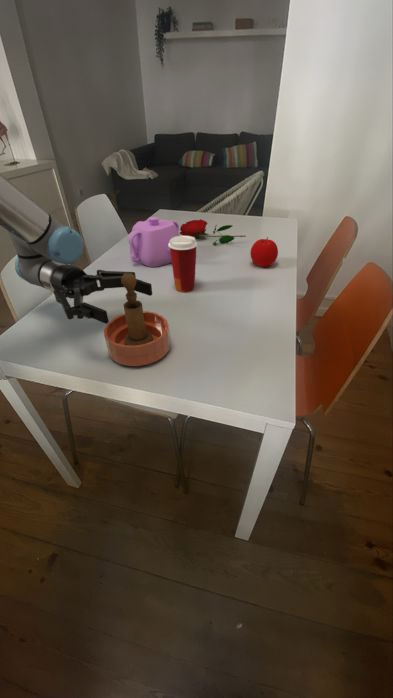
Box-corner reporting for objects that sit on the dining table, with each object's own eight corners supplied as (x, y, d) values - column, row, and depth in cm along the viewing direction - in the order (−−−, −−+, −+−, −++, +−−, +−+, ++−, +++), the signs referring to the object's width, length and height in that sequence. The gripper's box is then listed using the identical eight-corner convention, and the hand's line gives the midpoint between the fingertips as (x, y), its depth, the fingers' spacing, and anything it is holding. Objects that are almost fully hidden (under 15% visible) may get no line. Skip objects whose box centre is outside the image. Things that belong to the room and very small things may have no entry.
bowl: (101, 368, 69) (95, 346, 66) (117, 331, 81) (113, 310, 77) (166, 369, 69) (163, 347, 65) (173, 332, 80) (171, 311, 76)
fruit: (249, 269, 108) (251, 240, 102) (249, 259, 115) (252, 231, 109) (276, 270, 107) (280, 241, 101) (275, 260, 114) (279, 232, 108)
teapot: (138, 248, 126) (133, 210, 118) (190, 248, 125) (189, 210, 116) (126, 267, 111) (119, 226, 103) (185, 268, 110) (183, 226, 101)
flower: (248, 215, 119) (181, 213, 132) (240, 234, 116) (171, 230, 129) (252, 234, 126) (188, 230, 140) (244, 252, 123) (179, 246, 136)
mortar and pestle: (130, 336, 77) (117, 266, 66) (156, 338, 76) (148, 268, 65) (121, 353, 72) (106, 280, 61) (149, 356, 71) (139, 282, 60)
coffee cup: (201, 283, 100) (201, 236, 91) (192, 295, 94) (191, 246, 85) (177, 280, 103) (174, 233, 93) (167, 292, 97) (162, 243, 87)
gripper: (106, 275, 87) (167, 294, 77) (23, 316, 71) (88, 347, 61) (100, 248, 82) (164, 265, 73) (10, 285, 66) (78, 314, 57)
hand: (130, 302), depth 67 cm, fingers open, 13 cm apart
